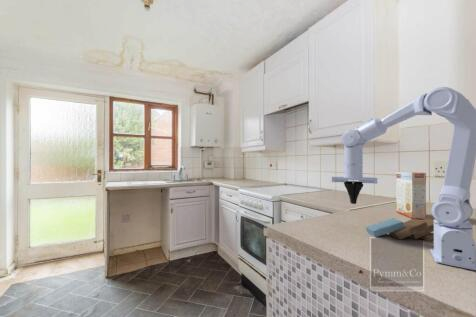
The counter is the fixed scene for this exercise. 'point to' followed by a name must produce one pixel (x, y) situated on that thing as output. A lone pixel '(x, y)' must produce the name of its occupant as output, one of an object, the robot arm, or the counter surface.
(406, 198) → the cracker box
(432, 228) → the domino
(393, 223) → the domino
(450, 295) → the counter surface
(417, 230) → the domino
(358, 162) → the robot arm
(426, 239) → the domino
